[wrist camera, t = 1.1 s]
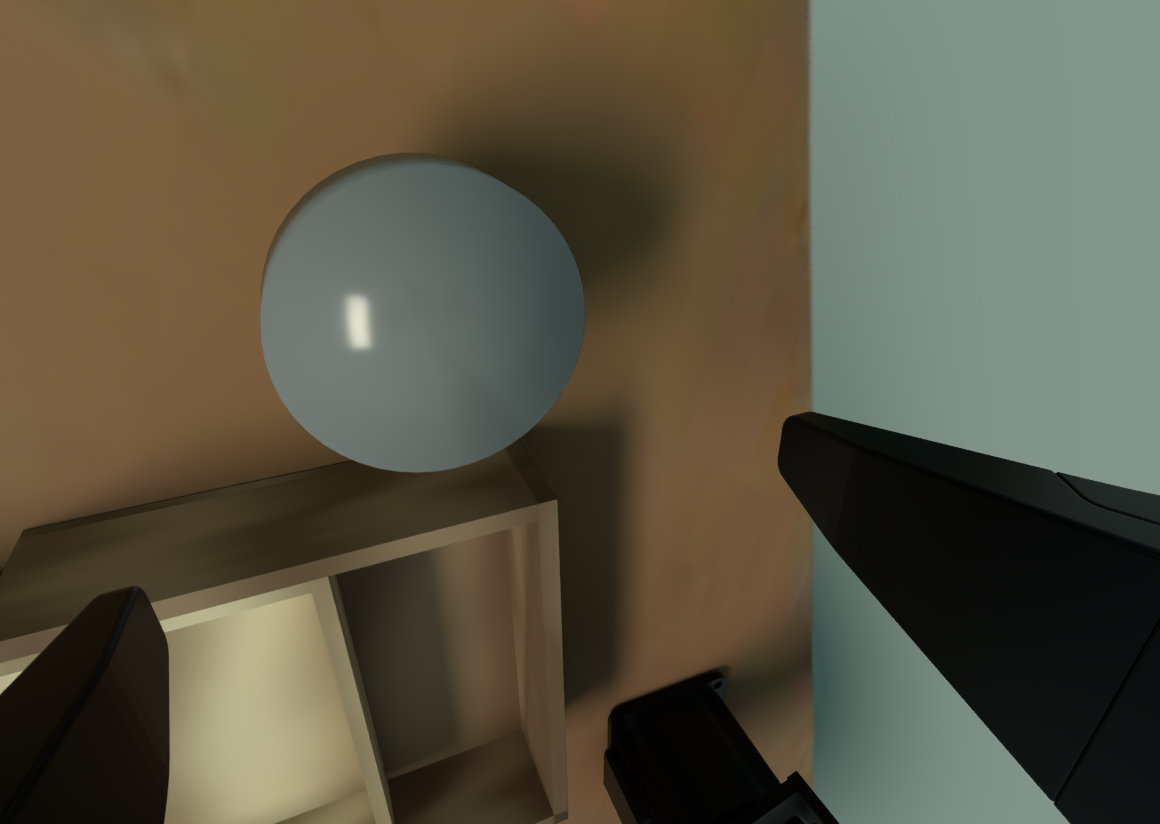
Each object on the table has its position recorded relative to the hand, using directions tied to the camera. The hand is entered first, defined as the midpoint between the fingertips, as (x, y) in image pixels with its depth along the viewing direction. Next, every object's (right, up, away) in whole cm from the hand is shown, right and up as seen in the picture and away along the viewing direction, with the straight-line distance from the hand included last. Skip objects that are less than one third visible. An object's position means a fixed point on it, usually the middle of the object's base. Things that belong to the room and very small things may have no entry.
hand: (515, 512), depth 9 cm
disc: (-3, +4, +7) cm, 9 cm away
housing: (-8, -8, +15) cm, 19 cm away
